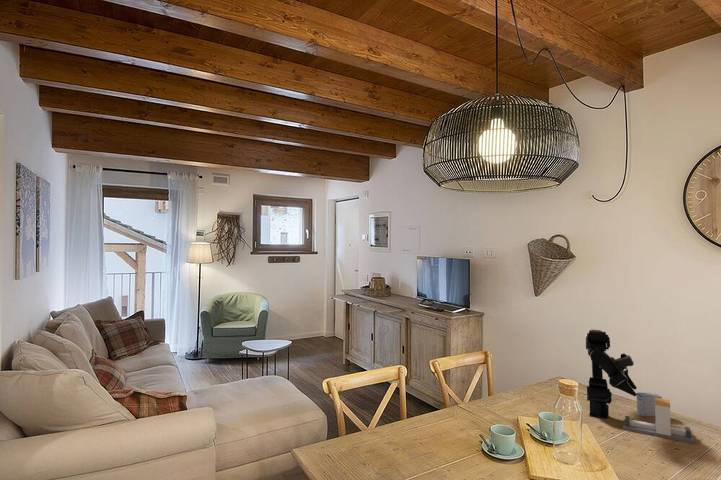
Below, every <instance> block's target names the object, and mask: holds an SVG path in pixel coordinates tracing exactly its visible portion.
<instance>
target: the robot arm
mask: <svg viewBox="0 0 721 480" xmlns="http://www.w3.org/2000/svg"><path fill="white" fill-rule="evenodd" d="M610 348H611V339H610V336H609V335H608V334H607V333H606V331H602V330H600V329H590V330H589V331H588V332H587V333H586V336H585V350H587V355H588V357H590V360H591V372H592V373H591V375H592V377H589V380H588V385H587V386H586V401H589V414H588V416H590V417H595V418H600V419H604V420H607V419H608V417H609V416H610V412H609V409H610V407H609V406H610V404H612V401H613V399H612V397H613V396H612V395H613V393H612V391H611V389H610V388H608V387H609V386H608V385H610V386H611V387H612V388H615V389H618V390H620V391H623V392H625V393H627V394H629V395H631V396H633V397H637V392H636V391H635V390H637V388H638V387H637V386H636V384H635V383H634V381H633V380H632V378H631V376H630V375H629V368H628V367H633V366H634V365H635V364H634V360H633V359H632V357H631V356H630V355H627V354H626V353H624V352H623V353H621V354H620V357H618V358H615V357H614V356H613V357H612V356H610V355H609V354H608V353H607V351H609V350H610ZM603 371H604V373H606V374H607V377H608V378H609V380H608V381H607V379H605V378H603V377H604V376H603ZM608 383H609V384H608Z"/></svg>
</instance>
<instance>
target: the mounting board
mask: <svg viewBox="0 0 721 480" xmlns="http://www.w3.org/2000/svg"><path fill="white" fill-rule="evenodd" d="M622 430H626V431H630V432H635V433H640V434H645V435H650V436H655V437H660V438H664V439H665V438H666V439H670V440H675V441H679V442H684V443H689V444H695V438H694V434H693V432H692V430H691V427H689V426H685V427H684V429H683V428H677V427H672V426H671V436H669V435H664V434H659V433H656V424H655V423H651V422H647V421H640V420H636V419H631V417H630V415H625V417H624V418H623V421H622Z"/></svg>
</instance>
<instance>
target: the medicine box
mask: <svg viewBox="0 0 721 480" xmlns="http://www.w3.org/2000/svg"><path fill="white" fill-rule="evenodd" d="M636 394H637V395H636V413H637V414H639V415H640V416H641V417H655V398H661V399H663V397H662V396H661V395H659V394H658V393H656V392H636Z"/></svg>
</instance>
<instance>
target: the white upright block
mask: <svg viewBox="0 0 721 480" xmlns="http://www.w3.org/2000/svg"><path fill="white" fill-rule="evenodd" d="M654 417H655V418H654V420H655V421H654V424H656V433H659V434H664V435H669V436H671V427H672V426H671V402H670V399H667V398H666V399H665V398H662V399H661V398H655V416H654Z"/></svg>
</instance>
